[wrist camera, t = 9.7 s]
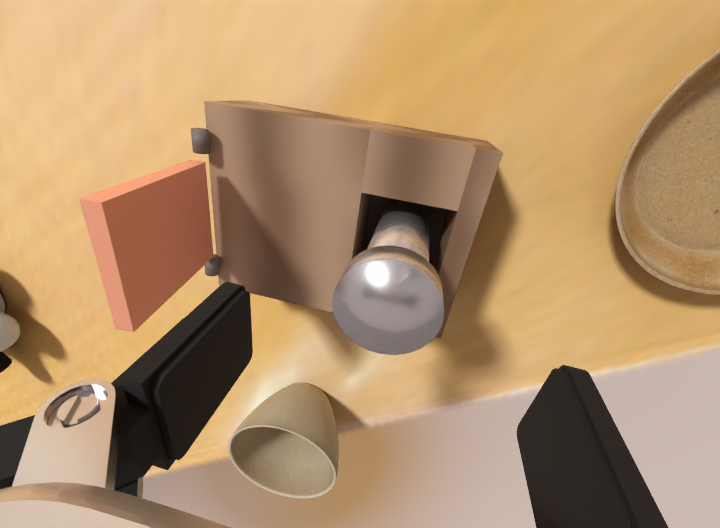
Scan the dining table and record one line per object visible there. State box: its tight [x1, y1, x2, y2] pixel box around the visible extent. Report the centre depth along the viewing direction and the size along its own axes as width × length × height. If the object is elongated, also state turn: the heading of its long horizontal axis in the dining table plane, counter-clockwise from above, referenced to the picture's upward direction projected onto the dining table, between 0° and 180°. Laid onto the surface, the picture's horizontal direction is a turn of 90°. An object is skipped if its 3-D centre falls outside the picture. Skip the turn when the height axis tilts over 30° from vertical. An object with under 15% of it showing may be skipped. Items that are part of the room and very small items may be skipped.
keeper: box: [79, 160, 213, 332], centre depth 16 cm, size 8×6×1 cm
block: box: [191, 101, 503, 338], centre depth 21 cm, size 16×12×6 cm
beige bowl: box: [228, 383, 338, 498], centre depth 32 cm, size 10×10×7 cm
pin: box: [332, 199, 444, 355], centre depth 18 cm, size 5×5×12 cm
